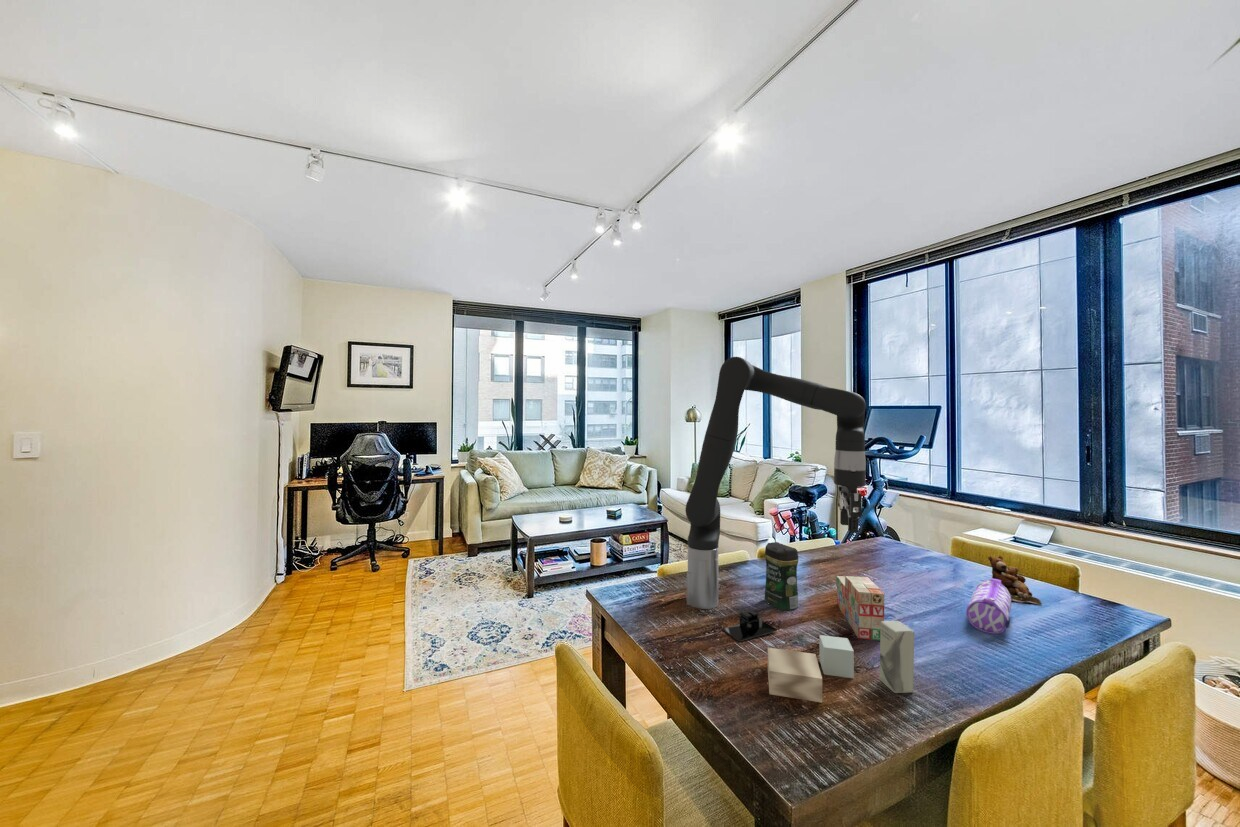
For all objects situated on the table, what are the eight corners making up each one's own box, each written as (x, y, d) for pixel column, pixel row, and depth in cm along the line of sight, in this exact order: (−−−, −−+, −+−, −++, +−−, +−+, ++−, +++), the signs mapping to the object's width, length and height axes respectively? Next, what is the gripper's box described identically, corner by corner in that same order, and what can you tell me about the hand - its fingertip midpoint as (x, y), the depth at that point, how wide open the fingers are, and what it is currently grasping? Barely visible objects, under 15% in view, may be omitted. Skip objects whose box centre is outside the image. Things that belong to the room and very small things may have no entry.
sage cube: (824, 674, 100) (823, 647, 100) (819, 660, 106) (819, 635, 106) (853, 678, 98) (853, 651, 99) (847, 664, 104) (847, 638, 104)
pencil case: (1010, 640, 116) (1010, 603, 116) (965, 629, 122) (964, 594, 123) (1011, 613, 133) (1011, 581, 133) (971, 605, 139) (971, 574, 139)
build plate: (739, 642, 114) (738, 623, 114) (721, 629, 121) (720, 612, 121) (777, 630, 119) (776, 613, 119) (758, 619, 126) (757, 602, 126)
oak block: (769, 695, 93) (769, 670, 93) (767, 669, 102) (767, 647, 102) (822, 704, 90) (822, 678, 90) (815, 676, 99) (815, 654, 100)
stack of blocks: (836, 606, 138) (836, 565, 138) (858, 608, 136) (858, 566, 136) (858, 639, 117) (858, 591, 117) (885, 641, 115) (884, 593, 116)
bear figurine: (1000, 604, 140) (1000, 564, 140) (972, 586, 155) (972, 551, 155) (1051, 607, 138) (1051, 567, 138) (1017, 589, 152) (1017, 553, 153)
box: (878, 680, 98) (878, 620, 98) (897, 679, 98) (897, 619, 98) (895, 694, 93) (895, 631, 93) (915, 693, 93) (915, 630, 93)
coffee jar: (760, 601, 140) (760, 541, 141) (779, 598, 143) (779, 539, 144) (782, 614, 131) (782, 549, 132) (803, 609, 134) (803, 546, 135)
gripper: (828, 464, 129) (827, 521, 128) (840, 469, 115) (839, 533, 115) (857, 465, 127) (856, 523, 127) (873, 471, 113) (872, 536, 113)
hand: (848, 528), depth 121 cm, fingers open, 8 cm apart
